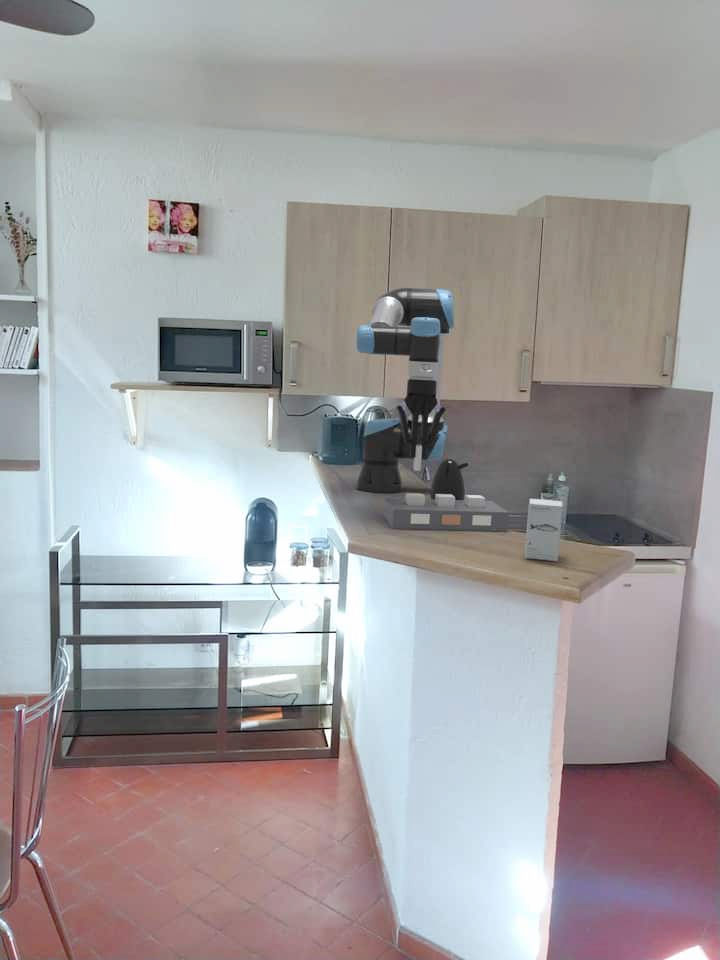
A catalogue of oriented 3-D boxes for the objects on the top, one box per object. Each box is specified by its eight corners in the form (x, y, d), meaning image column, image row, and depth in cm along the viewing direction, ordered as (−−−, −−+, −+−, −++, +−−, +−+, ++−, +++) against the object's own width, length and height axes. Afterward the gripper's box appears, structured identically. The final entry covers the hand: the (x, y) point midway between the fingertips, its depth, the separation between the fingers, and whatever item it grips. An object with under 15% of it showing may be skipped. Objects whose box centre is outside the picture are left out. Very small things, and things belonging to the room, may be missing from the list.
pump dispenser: (463, 515, 222) (467, 462, 220) (427, 512, 224) (430, 459, 222) (466, 509, 232) (470, 458, 230) (431, 506, 234) (434, 455, 232)
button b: (434, 509, 211) (435, 494, 211) (450, 510, 212) (451, 494, 211) (437, 513, 207) (438, 496, 206) (454, 513, 207) (455, 497, 207)
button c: (463, 510, 212) (464, 494, 212) (479, 511, 213) (480, 495, 212) (467, 513, 208) (468, 497, 207) (484, 514, 208) (485, 498, 208)
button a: (404, 509, 210) (405, 493, 210) (421, 509, 211) (422, 493, 210) (407, 512, 206) (408, 496, 205) (424, 512, 207) (425, 496, 206)
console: (383, 516, 216) (384, 498, 215) (490, 518, 219) (491, 501, 219) (392, 529, 200) (393, 509, 199) (507, 531, 203) (509, 512, 203)
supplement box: (523, 559, 175) (528, 503, 174) (524, 551, 183) (529, 497, 181) (558, 562, 174) (563, 505, 172) (557, 554, 181) (562, 500, 179)
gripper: (399, 377, 199) (394, 471, 202) (450, 380, 200) (444, 472, 204) (394, 377, 206) (390, 467, 209) (444, 379, 208) (438, 469, 211)
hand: (416, 469), depth 206 cm, fingers closed
